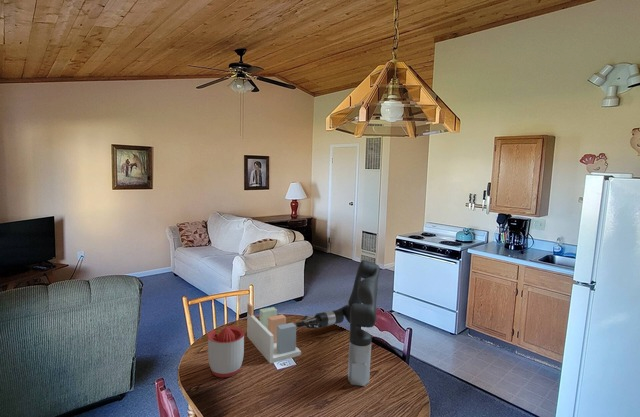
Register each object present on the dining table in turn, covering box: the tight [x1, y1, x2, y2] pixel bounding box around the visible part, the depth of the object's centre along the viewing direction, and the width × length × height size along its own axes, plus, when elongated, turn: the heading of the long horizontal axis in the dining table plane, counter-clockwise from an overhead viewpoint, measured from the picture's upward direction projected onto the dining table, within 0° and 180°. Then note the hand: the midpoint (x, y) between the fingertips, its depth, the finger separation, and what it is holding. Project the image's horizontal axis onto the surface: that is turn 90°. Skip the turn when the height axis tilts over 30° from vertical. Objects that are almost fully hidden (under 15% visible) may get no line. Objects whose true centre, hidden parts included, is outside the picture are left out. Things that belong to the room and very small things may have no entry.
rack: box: [246, 302, 302, 364], centre depth 186 cm, size 16×30×18 cm, turn 31°
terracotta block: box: [268, 314, 287, 343], centre depth 187 cm, size 8×4×12 cm, turn 121°
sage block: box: [258, 306, 278, 329], centre depth 197 cm, size 8×4×12 cm, turn 121°
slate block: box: [277, 322, 297, 354], centre depth 178 cm, size 8×4×12 cm, turn 121°
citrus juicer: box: [207, 325, 246, 379], centre depth 163 cm, size 16×17×20 cm
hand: (296, 325), depth 193 cm, fingers closed
